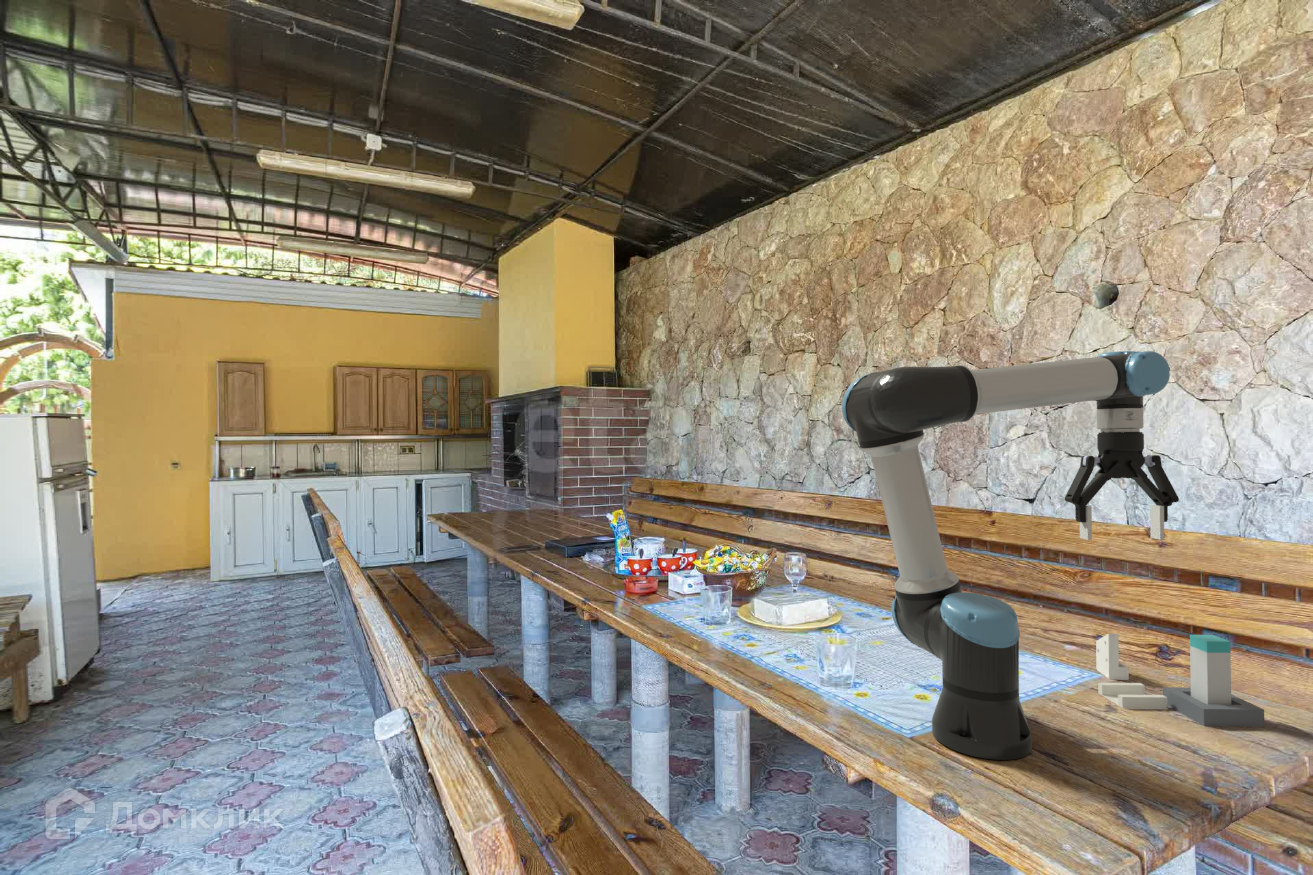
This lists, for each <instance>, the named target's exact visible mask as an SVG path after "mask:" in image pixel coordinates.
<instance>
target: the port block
mask: <svg viewBox="0 0 1313 875" xmlns="http://www.w3.org/2000/svg"><path fill="white" fill-rule="evenodd" d="M1162 695H1164V696H1165V697H1167V707H1169V708H1172V709H1173V710H1175V711H1176V712H1178V713H1180V714H1182V715H1184V716H1186V717H1187V718H1189V719H1190V720H1193V721H1194V722H1196V723H1198V724H1200V725H1202V726H1203V727H1250V728H1251V727H1254V728H1256V727H1259V728H1261V727H1262V728H1264V727H1265V709H1264V708H1261V707H1259V706H1257V705H1256V704H1254V703H1252V702H1249V701H1247V700H1245V699H1242V698H1240V697H1239V696H1236V695H1234V694H1232V693H1231V705H1209V704H1205V703H1203V702H1201V701H1199V700H1197V699H1195V698H1193V697H1191V687H1187V686H1186V687H1179V686H1176V687H1175V686H1174V687H1173V686H1172V687H1170V686H1169V687H1168V686H1167V687H1162Z"/></svg>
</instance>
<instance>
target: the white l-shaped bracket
mask: <svg viewBox="0 0 1313 875" xmlns="http://www.w3.org/2000/svg"><path fill="white" fill-rule="evenodd" d="M1095 645H1096V646H1095V650H1096V651H1095V652H1096V653H1095V654H1096V655H1095V659H1096V661H1095V662H1096V664H1095V665H1096V670H1097V672H1099V673H1100V674H1102V675H1103V676H1104V677H1106V678H1107V679H1109V680H1119V681H1129V680H1130V677H1129V668H1130V667H1128V666H1127V665H1125V664H1124V663H1122V662H1120V661H1119V659H1120V658H1119V655H1120V654H1119V646H1120V645H1119V633H1108V634H1105V635H1104V636H1102V637H1100V638H1099V639H1097V640H1096V641H1095Z"/></svg>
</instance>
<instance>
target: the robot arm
mask: <svg viewBox="0 0 1313 875" xmlns="http://www.w3.org/2000/svg"><path fill="white" fill-rule="evenodd" d="M1170 377H1171V373H1170V365H1169V363H1168V360H1167V359H1166V357H1164V356H1163V355H1162V354H1160V353H1158V352H1156V351H1153V350H1152V351H1151V350H1147V351H1145V350H1144V351H1134V350H1126V351H1125V350H1123V351H1110V352H1109V351H1108V352H1102V353H1100V354H1098V355H1097V356H1095V357H1093V356H1092V357H1087V358H1075V359H1066V360H1065V359H1063V360H1057V361H1056V360H1055V361H1047V362H1037V363H1036V362H1035V363H1027V364H1018V365H1008V366H1000V367H999V366H998V367H990V368H989V367H988V368H982V369H981V368H979V369H970V368H969V367H968V366H966V365H952V366H951V365H949V366H900V367H894V368H892V369H886V370H882V371H876V372H870V373H867V374H865V375H863V376H862V377H858V378H857V379H856V380H854V381H853V382H852V383H851V384H850V385H849V386H848V388H847V389H846V391H845V393H844V395H843V398H842V402H841V411H842V417H843V418H844V421H845V423H846V425H847V426H848V427H849V428H850V429H851V430H853V431H854V432H856V436H857V441H858V444H859V449H860V450H861V451H863V452H864V453H866V454H867V455H869V457H870V458H871V461H872V466H873V469H874V470H873V471H874V474H875V475H874V476H875V477H876V478H875V479H876V482H877V485H878V486H877V487H878V491H879V495H880V499H881V504H882V507H883V512H884V516H885V520H886V523H887V528H888V532H889V536H890V540H891V543H892V545H891V546H892V547H893V552H894V556H895V560H896V561H895V562H896V565H897V568H898V574H899V576H898V579H897V580H896V581H895V583H894V591H895V596H894V599H893V600H892V603H891V617H892V620H893V623H894V626H895V627H896V629H897V630H898V632H900V634H901V635H902V636H903V637H904V638H906V639H907V641H908V642H910V643H911V644H912V645H915V646H917V647H918V648H921V649H923V650H924V651H925V652H928V653H930V654H931V655H933V656H935V657H937V659H940V660H941V662H942V664H941V666H942V668H941V670H942V688H941V692H940V695H939V698H938V700H937V703H936V707H935V709H934V712H933V715H932V717H931V718H932V719H931V733H932V735H933V737H934V739H936V740H937V741H938V742H939V743H940V744H942V745H943V746H945V747H947V748H949V749H951V750H953V751H955V752H957V753H961V754H964V755H967V756H971V757H974V758H975V757H976V758H980V759H985V760H995V761H1009V760H1010V761H1011V760H1016V759H1017V760H1018V759H1021V758H1024V757H1025V758H1026V756H1028V755H1030V754H1031V752H1032V750H1033V743H1032V742H1033V737H1032V731H1031V729H1030V726H1029V723H1028V721H1027V720H1028V719H1027V718H1026V717H1027V716H1026V715H1025V712H1024V709H1023V707H1022V703H1021V701H1020V673H1019V672H1020V668H1019V667H1020V658H1019V656H1020V655H1019V654H1020V644H1019V643H1020V642H1019V641H1020V636H1021V634H1020V628H1019V620H1018V615H1017V612H1016V611H1015V609H1014V608H1013V607H1012V606H1011V605H1009V603H1006V602H1005V601H1003V600H1001V599H999V598H997V597H994V596H989V595H983V594H982V593H976V592H975V593H974V592H966V591H965V592H963V591H962V586H961V583H960V579H959V576H958V575H957V574H956V573H954V572H953V571H951V569H949V568H948V566H947V562H946V559H945V554H944V550H943V549H944V548H943V546H942V542H941V536H940V532H939V529H938V524H937V521H936V516H935V512H934V508H933V503H932V500H931V495H930V491H929V486H928V484H927V479H926V475H925V471H924V466H923V462H922V458H921V454H920V450H919V444H920V443H921V441H922V440H923V439H924V437H925V433H924V431H925V430H928V429H932V428H937V427H940V426H945V425H950V424H955V423H963V422H968V421H970V420H972V419H973V418H974V417H975V416H976V415H979V414H980V415H982V414H990V413H998V412H999V413H1000V412H1005V411H1007V412H1008V411H1014V410H1022V409H1030V408H1031V409H1032V408H1040V407H1050V406H1059V405H1066V404H1074V403H1075V404H1076V403H1081V402H1082V403H1083V402H1090V401H1091V402H1096V429H1097V430H1100V432H1098V433H1097V435H1096V438H1097V439H1096V441H1097V447H1096V448H1097V450H1098V454H1097V456H1093V455H1082V456H1081V458H1080V466H1079V468H1078V470H1077V473H1076V474H1075V476H1074V478H1073V481H1072V482H1071V484H1070V486H1069V488H1068V490H1067V492H1066V494H1065V496H1064V501H1065V502H1068V503H1071V504H1072V505H1074V507H1075V509H1074V510H1075V516H1074V517H1075V522H1078V523H1079V539H1083V540H1085V541H1086V540H1087V541H1092V540H1093V524H1092V523H1093V522H1092V511H1093V510H1092V506H1091V505H1088V504H1089V503H1090V502H1091V501H1092V499H1094V497H1095V496H1096V495H1097V494H1098V493H1099V491H1100V490H1101V489H1102V488H1103V487H1104V485H1105V484H1107V482H1108V481H1110V480H1111V479H1131V480H1133V481H1134V482H1135V483H1136V484H1137V485H1138V486H1139V487H1140V489H1141V490H1142V491H1143V492H1144V493H1145V494H1146V495H1147V496H1148V497H1149V498H1150V500H1151V501H1152V502H1153V503H1154V504H1150V505H1149V508H1150V509H1149V510H1150V511H1149V512H1150V514H1149V515H1150V519H1149V520H1150V525H1149V526H1150V539H1155V540H1159V541H1162V540H1163V541H1165V523H1167V522H1168V519H1169V510H1168V507H1171V506H1172V505H1173V504H1174V503H1177V502H1178V503H1179V501H1180V499H1179V496H1178V494H1177V492H1176V490H1175V489H1174V486H1173V485H1172V483H1171V481H1170V479H1169V477H1168V475H1167V474H1166V472H1165V469H1164V468H1163V466H1162V458H1161V455H1158V454H1157V455H1156V454H1148V455H1146V456H1144V454H1143V452H1144V449H1145V434H1144V433H1143V431H1141V430H1142V429H1143V428H1144V397H1145V396H1149V395H1154V394H1155V395H1156V394H1158V393H1160V392H1161V391H1163V390H1164V388H1166V387H1167V384H1168V383H1169V380H1170ZM1140 429H1141V430H1140ZM1097 465H1098V467H1099V469H1098V470H1097V471H1096V472H1095V474H1094V477H1093V478H1092V479H1091V480H1090V481H1089V479H1090V478H1091V475H1092V473H1093V471H1094V468H1095V467H1096V466H1097ZM1143 466H1145V467H1146V469H1147V470H1148V472H1149V474H1150V476H1151V478H1152V480H1153V481H1154V482H1152V480H1151V479H1150V478H1149V476H1148V474H1147V472H1145V471H1144V470H1143V468H1142V467H1143ZM1088 481H1089V483H1088ZM1087 483H1088V484H1087Z"/></svg>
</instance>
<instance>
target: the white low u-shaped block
mask: <svg viewBox="0 0 1313 875" xmlns="http://www.w3.org/2000/svg"><path fill="white" fill-rule="evenodd" d="M1097 686H1098V688H1097V689H1098V692H1097V691H1096V692H1097V693H1098V694H1099V695H1100V696H1103V697H1104V698H1105V699H1107V700H1109V701H1111V702H1112V703H1113V704H1114V705H1117V706H1118V707H1120V708H1122V709H1123V710H1169V708H1168V706H1167V697H1165V696H1164V695H1163V694H1146V689H1145V688H1146V686H1145V684H1143V683H1142V682H1098V685H1097Z"/></svg>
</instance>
